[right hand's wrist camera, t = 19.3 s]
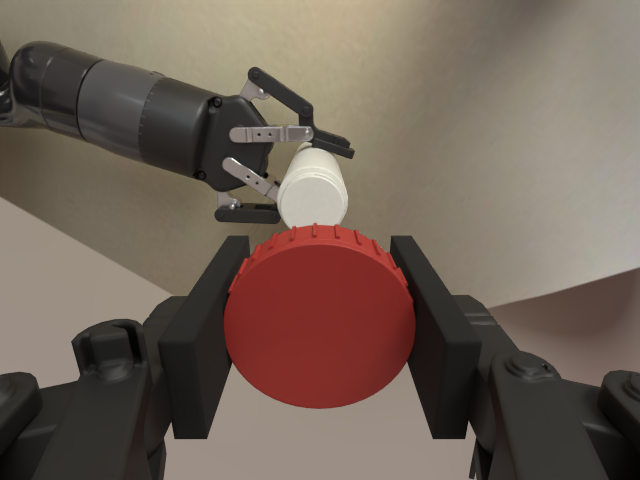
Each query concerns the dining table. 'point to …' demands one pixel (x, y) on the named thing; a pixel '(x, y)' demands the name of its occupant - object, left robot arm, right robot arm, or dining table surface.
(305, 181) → the bottle
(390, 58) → the dining table surface
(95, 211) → the dining table surface
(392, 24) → the dining table surface
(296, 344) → the lid
